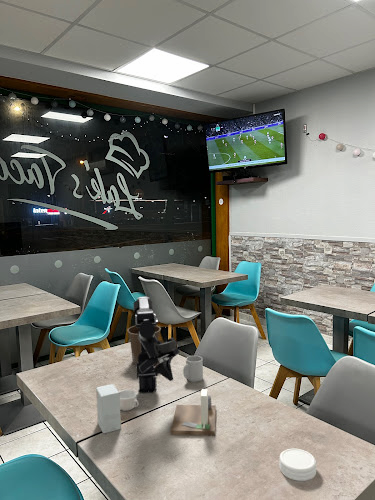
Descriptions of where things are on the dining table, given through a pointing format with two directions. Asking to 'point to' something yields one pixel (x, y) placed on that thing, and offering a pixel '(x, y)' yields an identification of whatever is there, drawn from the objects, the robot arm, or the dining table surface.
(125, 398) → the teacup
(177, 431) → the brown flat panel
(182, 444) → the dining table surface
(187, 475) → the dining table surface
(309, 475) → the coaster
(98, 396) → the small box
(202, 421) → the lever
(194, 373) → the cup
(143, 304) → the robot arm
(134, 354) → the plant pot
